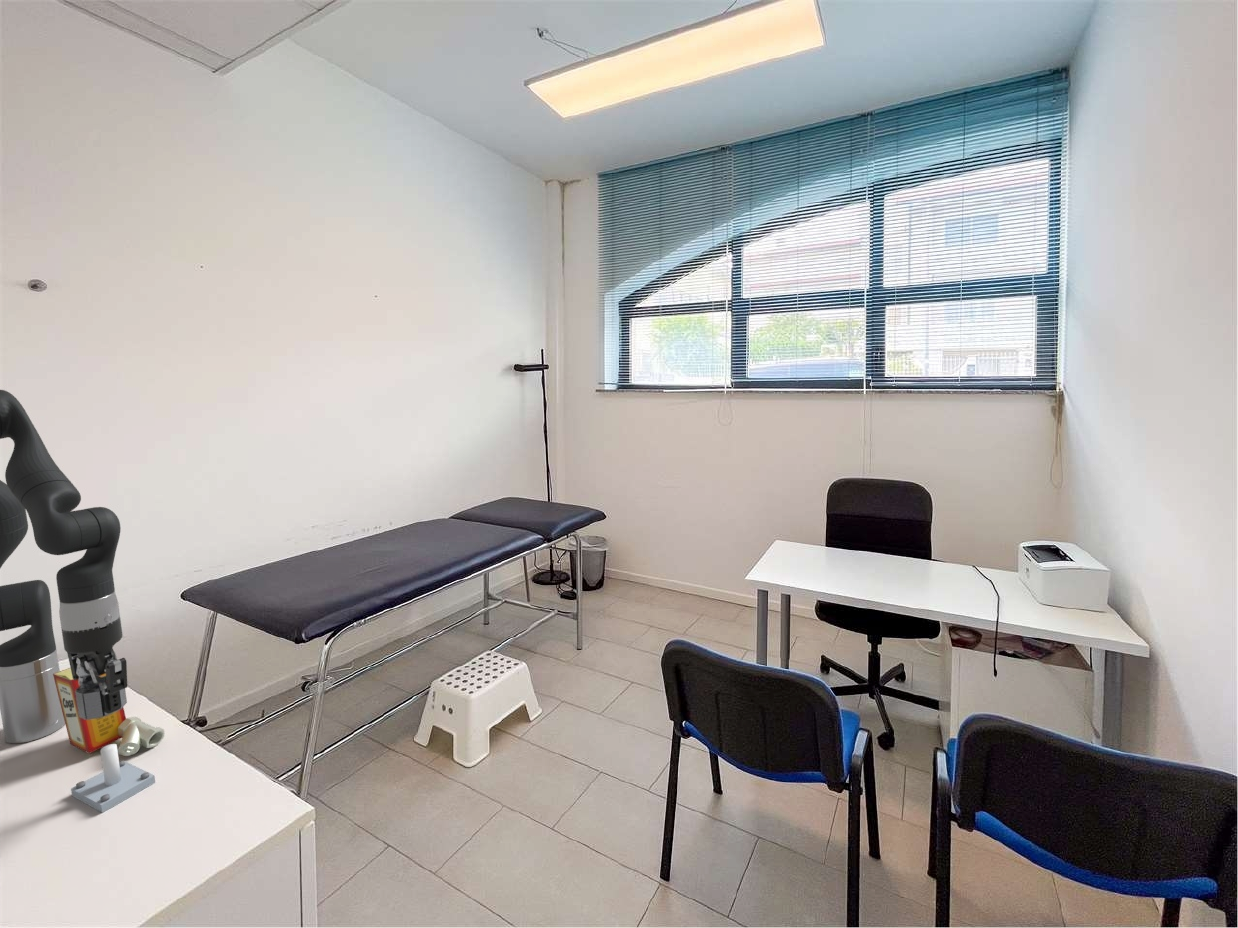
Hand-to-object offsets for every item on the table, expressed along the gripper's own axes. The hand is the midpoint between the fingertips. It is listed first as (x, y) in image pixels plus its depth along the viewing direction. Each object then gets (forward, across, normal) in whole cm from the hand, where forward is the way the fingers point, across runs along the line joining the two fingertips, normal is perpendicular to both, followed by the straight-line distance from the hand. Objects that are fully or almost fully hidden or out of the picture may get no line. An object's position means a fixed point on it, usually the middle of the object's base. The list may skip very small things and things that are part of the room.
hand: (103, 705), depth 98 cm
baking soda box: (+16, -19, +6) cm, 26 cm away
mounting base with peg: (+17, 0, 0) cm, 17 cm away
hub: (+1, 0, 0) cm, 1 cm away
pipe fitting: (+16, -10, +8) cm, 21 cm away
